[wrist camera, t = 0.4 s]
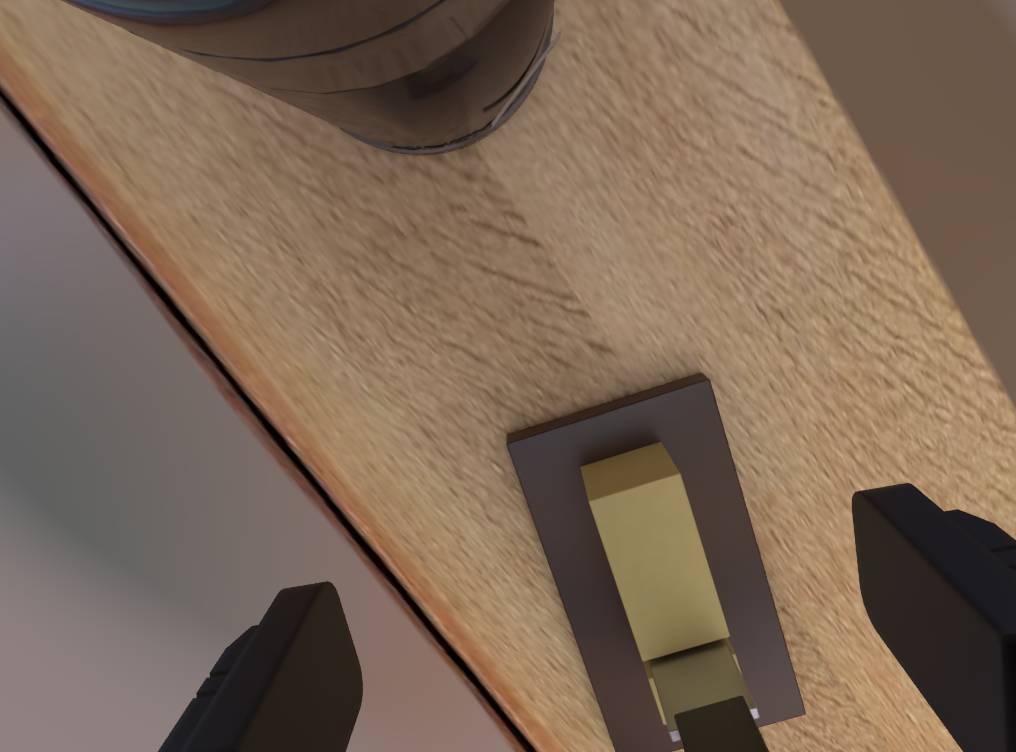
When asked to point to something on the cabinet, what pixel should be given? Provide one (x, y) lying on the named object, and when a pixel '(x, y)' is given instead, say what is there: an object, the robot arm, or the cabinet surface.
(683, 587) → the butter
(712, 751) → the knife
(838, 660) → the cabinet surface
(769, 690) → the board
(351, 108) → the robot arm
